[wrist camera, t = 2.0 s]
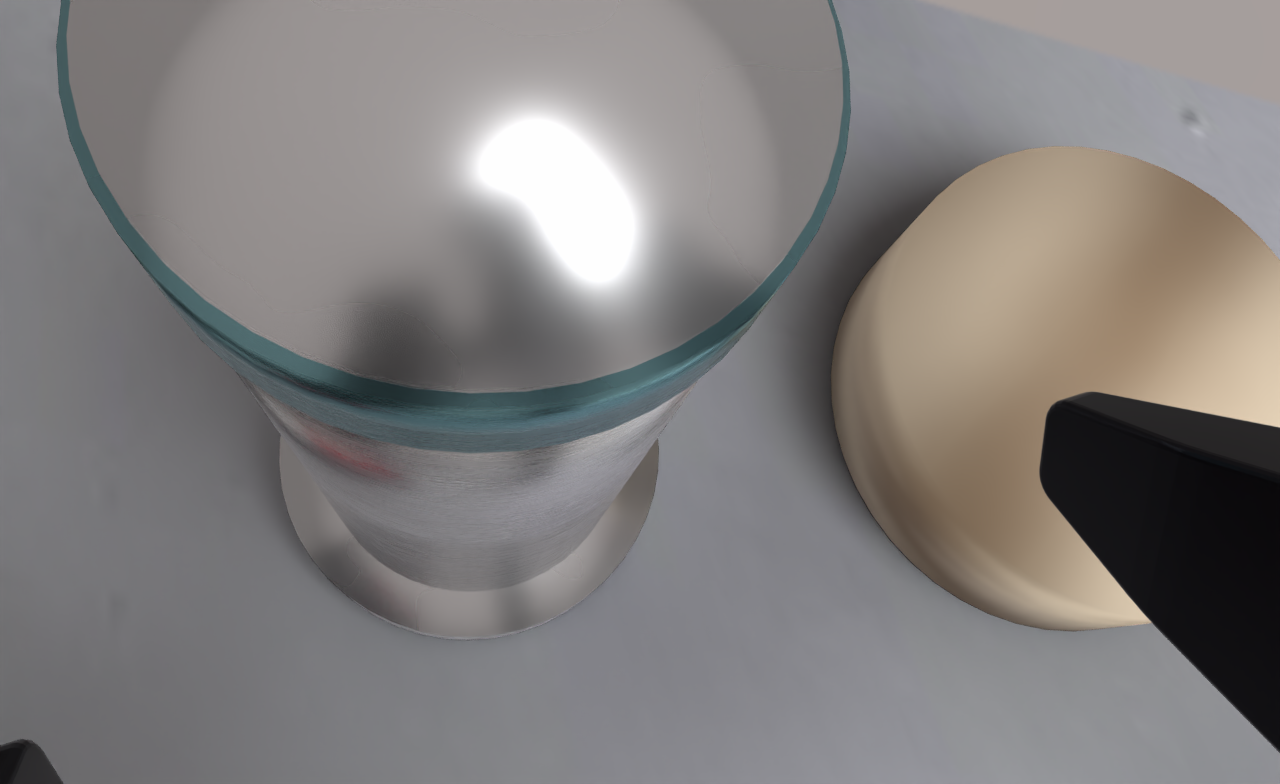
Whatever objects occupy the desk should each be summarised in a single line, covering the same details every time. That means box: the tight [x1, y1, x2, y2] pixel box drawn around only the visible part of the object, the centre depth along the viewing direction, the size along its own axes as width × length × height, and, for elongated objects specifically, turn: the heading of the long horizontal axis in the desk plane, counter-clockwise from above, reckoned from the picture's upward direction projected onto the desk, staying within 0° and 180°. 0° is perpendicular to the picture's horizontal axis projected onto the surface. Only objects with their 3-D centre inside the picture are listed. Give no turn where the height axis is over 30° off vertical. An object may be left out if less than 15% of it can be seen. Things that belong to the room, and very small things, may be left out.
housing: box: [56, 0, 851, 640], centre depth 13 cm, size 7×7×13 cm
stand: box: [831, 146, 1280, 631], centre depth 20 cm, size 10×10×3 cm
